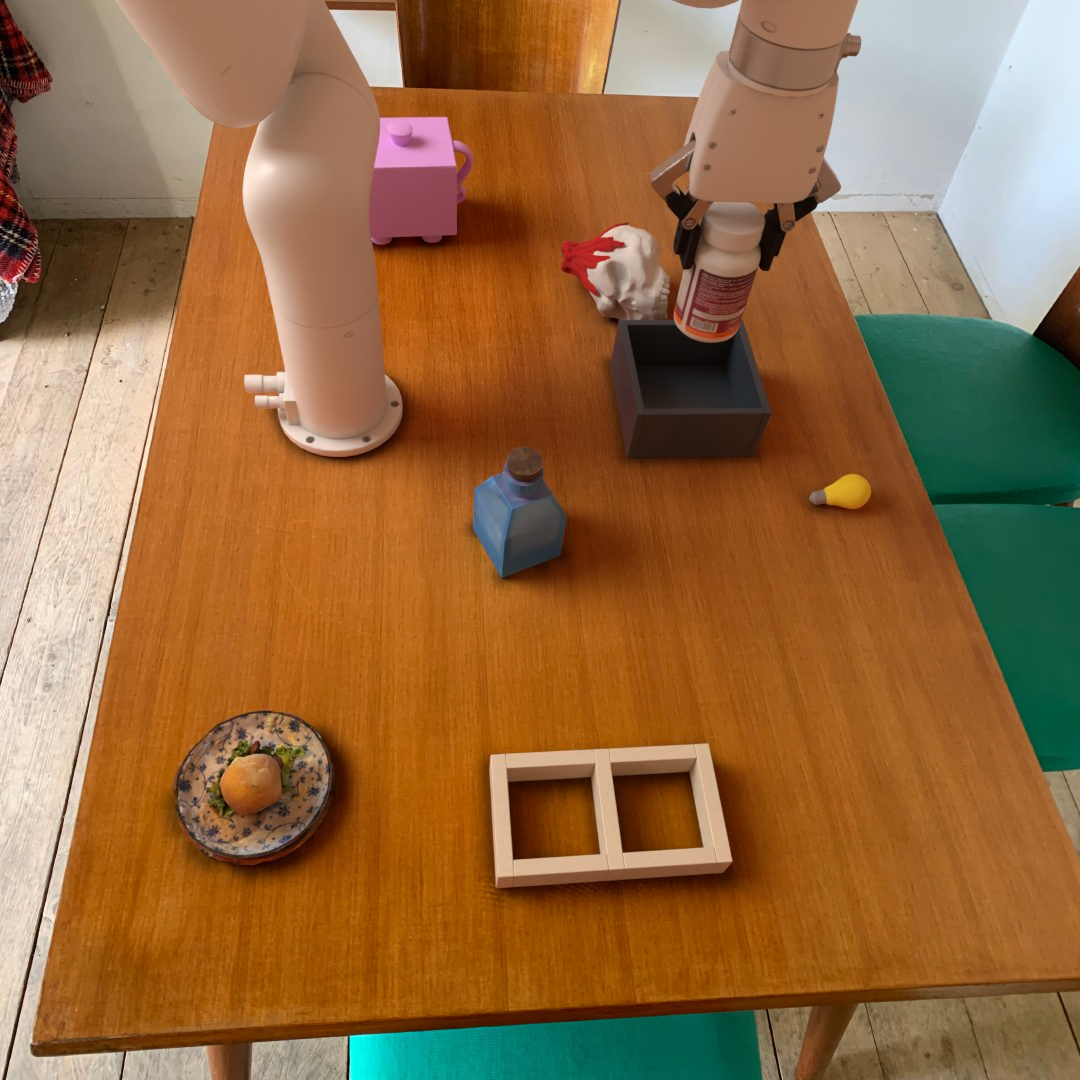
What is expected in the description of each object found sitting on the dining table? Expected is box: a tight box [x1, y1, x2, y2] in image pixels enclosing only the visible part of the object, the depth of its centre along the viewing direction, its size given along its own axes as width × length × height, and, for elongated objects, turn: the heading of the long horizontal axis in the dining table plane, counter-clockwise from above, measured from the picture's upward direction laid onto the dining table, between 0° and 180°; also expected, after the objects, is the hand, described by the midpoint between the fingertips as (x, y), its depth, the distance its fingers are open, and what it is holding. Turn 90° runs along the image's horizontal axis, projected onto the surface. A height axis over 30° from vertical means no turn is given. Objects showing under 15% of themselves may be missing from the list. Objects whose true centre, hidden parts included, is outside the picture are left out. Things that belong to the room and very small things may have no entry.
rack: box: [488, 742, 733, 889], centre depth 71 cm, size 18×9×3 cm, turn 95°
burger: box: [172, 709, 336, 866], centre depth 69 cm, size 12×12×8 cm
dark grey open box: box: [609, 319, 773, 459], centre depth 97 cm, size 14×14×7 cm
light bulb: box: [808, 473, 872, 510], centre depth 92 cm, size 3×6×4 cm, turn 94°
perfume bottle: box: [472, 446, 568, 579], centre depth 83 cm, size 6×6×12 cm
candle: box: [560, 222, 671, 320], centre depth 106 cm, size 9×11×15 cm
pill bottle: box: [673, 202, 765, 343], centre depth 80 cm, size 6×6×11 cm
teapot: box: [369, 116, 475, 246], centre depth 109 cm, size 20×10×12 cm, turn 99°
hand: (722, 258), depth 79 cm, fingers closed on pill bottle, 6 cm apart
